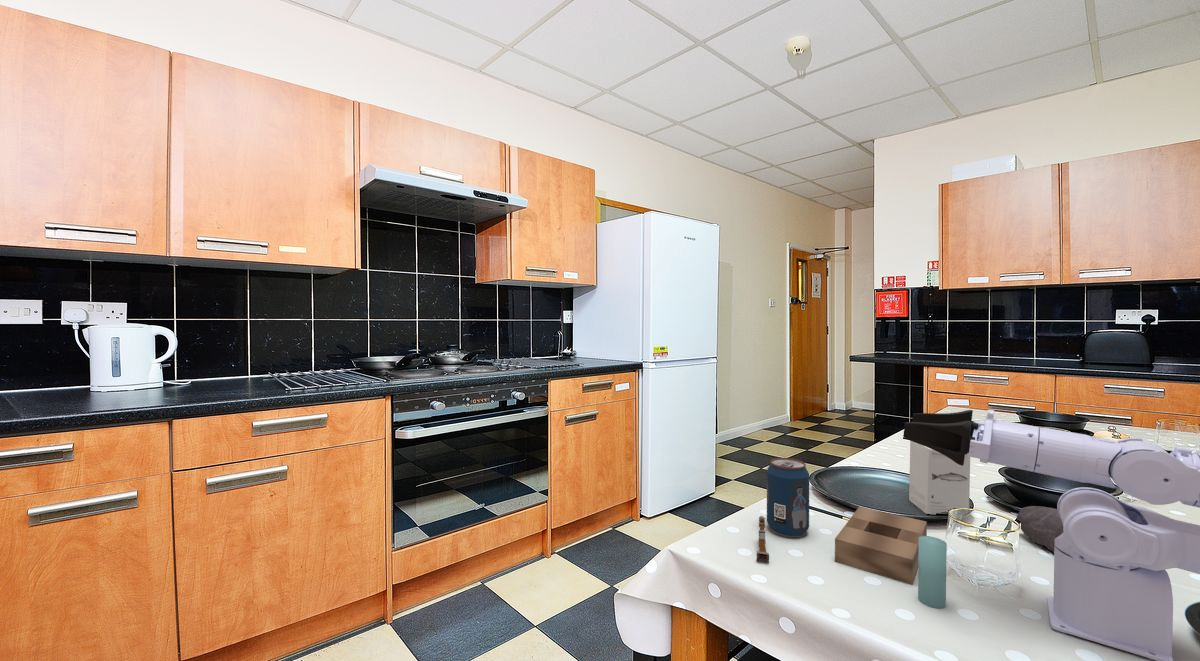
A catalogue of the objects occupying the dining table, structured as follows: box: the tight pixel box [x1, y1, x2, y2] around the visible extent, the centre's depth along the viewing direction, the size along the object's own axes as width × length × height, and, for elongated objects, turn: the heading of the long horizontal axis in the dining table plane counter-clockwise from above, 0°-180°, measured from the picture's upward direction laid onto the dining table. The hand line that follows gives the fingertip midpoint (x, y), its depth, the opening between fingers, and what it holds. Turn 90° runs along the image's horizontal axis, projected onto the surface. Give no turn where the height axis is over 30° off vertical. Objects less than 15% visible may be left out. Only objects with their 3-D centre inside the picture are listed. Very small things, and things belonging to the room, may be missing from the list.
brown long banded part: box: [756, 515, 770, 563], centre depth 77 cm, size 2×8×4 cm, turn 163°
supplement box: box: [908, 440, 971, 515], centre depth 92 cm, size 7×7×13 cm
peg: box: [917, 535, 948, 609], centre depth 62 cm, size 3×3×8 cm
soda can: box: [766, 457, 810, 539], centre depth 83 cm, size 7×7×12 cm
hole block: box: [834, 506, 928, 585], centre depth 76 cm, size 10×16×4 cm, turn 140°
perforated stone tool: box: [1016, 505, 1063, 553], centre depth 74 cm, size 15×5×7 cm, turn 6°
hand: (908, 424), depth 69 cm, fingers open, 7 cm apart
